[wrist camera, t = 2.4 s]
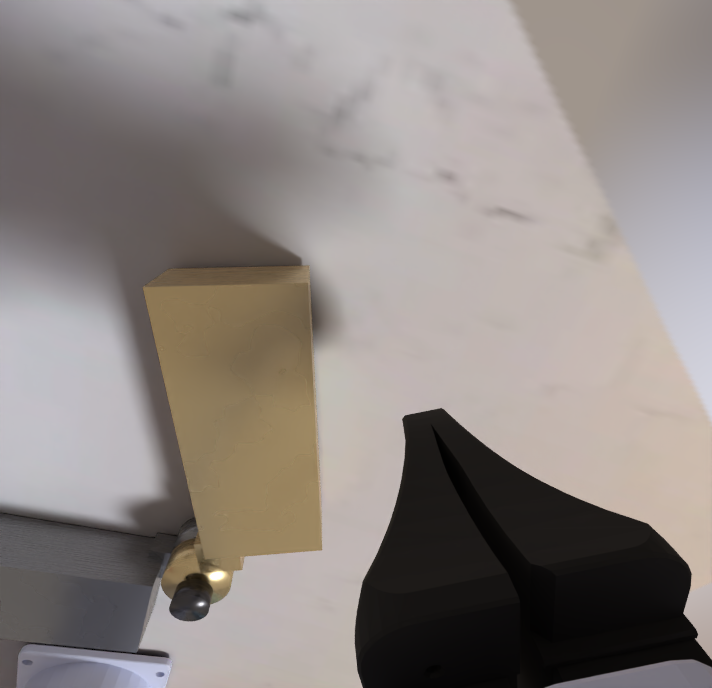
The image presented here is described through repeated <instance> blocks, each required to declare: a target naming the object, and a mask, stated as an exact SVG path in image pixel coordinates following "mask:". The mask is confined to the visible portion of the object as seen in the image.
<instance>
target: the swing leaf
mask: <svg viewBox="0 0 712 688" xmlns="http://www.w3.org/2000/svg"><path fill="white" fill-rule="evenodd" d="M143 291H144V295H145V300H146V304H147V309H148V313H149V317H150V322H151V326H152V330H153V335H154V339H155V344H156V348H157V352H158V357H159V361H160V365H161V370H162V374H163V379H164V383H165V387H166V392H167V396H168V400H169V405H170V409H171V414H172V418H173V422H174V427H175V431H176V435H177V440H178V444H179V449H180V453H181V457H182V462H183V466H184V470H185V475H186V479H187V484H188V488H189V492H190V497H191V501H192V506H193V510H194V514H195V519H196V523H197V527H198V533H197V536H196V538H194V539H189V540H186V541H184V542H182V543H180V544H179V545H177V546H176V547H175V548H174V549H173V551H172V553H171V555H170V558H169V561H168V563H167V566H166V569H165V571H164V574H163V577H162V580H161V586H162V589H163V591H164V593H165V594H166V595H167V596H168V597H169V598H170V599H172V598H173V595H174V592H175V589H176V587H177V585H178V584H179V583H180V582H182V581H184V580H188V579H200V580H204V581H206V582H208V583H209V584H210V585H211V586H212V588H213V595H212V599H211V603H210V604H213V603H216V602H218V601H220V600H221V599H223V598H224V597H225V596H226V595H227V594H228V592H229V590H230V587H231V582H232V577H233V572H234V571H236V570H242V568H243V562H244V557H245V556H256V555H268V554H280V553H293V552H305V551H317V550H322V509H321V488H320V468H319V448H318V428H317V408H316V388H315V369H314V349H313V329H312V309H311V289H310V269H309V266H265V267H220V268H175V269H168V270H167V271H165V272H164V273H162V274H161V275H159V276H158V277H157V278H155V279H154V280H152V281H151V282H149V283H148V284H146V285H145V286H144V287H143Z"/></svg>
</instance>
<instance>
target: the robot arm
mask: <svg viewBox="0 0 712 688" xmlns="http://www.w3.org/2000/svg"><path fill="white" fill-rule="evenodd" d="M402 420H403V427H404V433H405V440H406V444H405V459H404V467H403V473H402V479H401V484H400V489H399V493H398V497H397V501H396V505H395V508H394V511H393V514H392V518H391V521H390V523H389V526H388V529H387V531H386V534H385V536H384V539H383V541H382V543H381V546H380V548H379V551H378V553H377V555H376V557H375V559H374V561H373V563H372V565H371V567H370V569H369V571H368V572H367V574H366V576H365V578H364V580H363V584H362V588H361V593H360V598H359V604H358V610H357V616H356V625H355V649H356V659H357V670H358V674H359V677H360V680H361V683H362V686H363V688H712V660H711V659H710V657H709V656H708V655H707V654H706V652H705V651H704V650H703V649H702V647H701V646H700V645H699V644H698V642H697V641H696V640H695V638H697V636H698V633H697V631H696V629H695V628H694V626H693V625H692V624H691V622H690V621H689V620H688V619H687V618H686V617H685V615H684V614H683V612H684V608H685V605H686V601H687V598H688V594H689V591H690V586H691V575H692V574H691V571H690V568H689V566H688V564H687V563H686V562H685V561H684V560H683V559H682V558H681V557H680V555H679V554H678V553H677V552H676V551H675V550H674V549H673V548H672V547H671V546H670V545H669V544H668V543H667V541H666V540H665V539H664V538H662V537H661V536H660V535H659V534H658V533H657V532H656V531H655V530H654V529H653V528H652V527H651V526H650V525H649V524H647V523H644V522H641V521H638V520H635V519H632V518H629V517H626V516H623V515H620V514H617V513H614V512H611V511H608V510H605V509H603V508H600V507H598V506H595V505H593V504H590V503H588V502H585V501H583V500H580V499H578V498H575V497H573V496H571V495H569V494H566V493H564V492H562V491H560V490H558V489H556V488H554V487H552V486H550V485H548V484H546V483H544V482H542V481H540V480H538V479H536V478H534V477H532V476H531V475H529V474H527V473H526V472H524V471H522V470H520V469H519V468H517V467H516V466H514V465H512V464H511V463H509V462H508V461H506V460H505V459H503V458H502V457H501V456H499V455H498V454H496V453H495V452H494V451H492V450H491V449H489V448H488V447H487V446H486V445H484V444H483V443H482V442H480V441H479V440H478V439H477V438H475V437H474V436H473V435H472V434H471V433H469V432H468V431H467V430H466V429H465V428H464V427H462V426H461V425H460V424H459V423H458V422H457V421H456V420H455V419H453V418H452V417H451V416H450V415H449V414H448V413H447V412H446V411H445V410H444V409H442V408H440V409H435V410H430V411H425V412H420V413H415V414H410V415H405V416H404V418H403V419H402ZM171 666H172V661H171V660H170V659H169V658H165V657H156V656H146V655H136V654H126V653H116V652H106V651H96V650H86V649H76V648H66V647H56V646H46V645H37V644H28V645H25V646H24V647H23V648H22V649H21V651H20V652H19V654H18V666H17V683H16V688H165V686H166V683H167V680H168V676H169V673H170V670H171Z"/></svg>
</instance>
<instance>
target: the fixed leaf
mask: <svg viewBox="0 0 712 688" xmlns="http://www.w3.org/2000/svg"><path fill="white" fill-rule="evenodd" d="M197 533H198V527H197V523H196V519H195V518H192V519H190V520H189V521H187V522H186V523H185V524H184V525H183V526H182V527H181V529H180V532H179V534H178V536H173V535H167V534H161V533H157V535H156V537H155V538H150V537H144V536H138V535H132V534H125V533H119V532H113V531H107V530H101V529H95V528H88V527H82V526H76V525H70V524H64V523H58V522H52V521H45V520H39V519H33V518H27V517H21V516H15V515H8V514H2V513H0V639H5V640H14V641H24V642H34V643H44V644H54V645H64V646H74V647H83V648H93V649H103V650H113V651H123V652H133V653H137V651H138V649H139V646H140V643H141V640H142V638H143V635H144V632H145V630H146V627H147V624H148V622H149V619H150V616H151V613H152V611H153V608H154V605H155V602H156V598H157V594H158V590H159V586H160V582H161V578H162V577H163V574H164V571H165V569H166V566H167V563H168V561H169V558H170V555H171V553H172V551H173V549H174V548H175V547H176V546H177V545H179V544H180V543H182V542H184V541H186V540H189V539H194V538H196V536H197ZM212 595H213V588H212V586H211V585H210V584H209V583H208V582H206V581H204V580H200V579H188V580H184V581H182V582H180V583H179V584H178V585H177V587H176V589H175V592H174V595H173V598H172V601H171V604H170V607H169V610H170V613H171V614H172V615H173V616H174V617H175V618H177V619H179V620H183V621H196V620H200V619H202V618H204V617H205V616H206V615H207V614H208V611H209V607H210V603H211V599H212Z"/></svg>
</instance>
